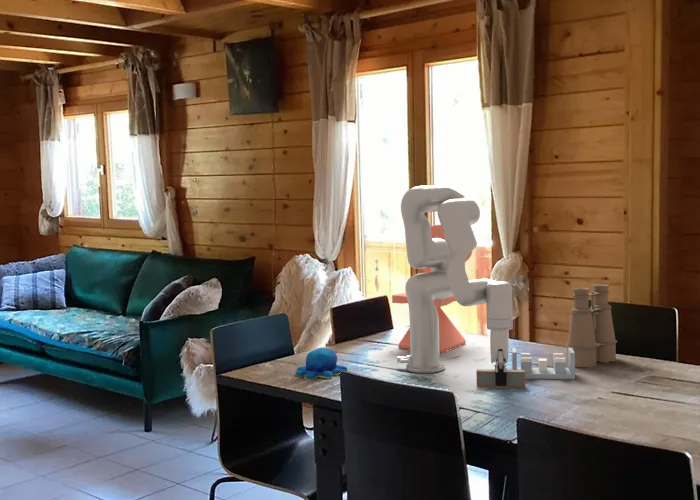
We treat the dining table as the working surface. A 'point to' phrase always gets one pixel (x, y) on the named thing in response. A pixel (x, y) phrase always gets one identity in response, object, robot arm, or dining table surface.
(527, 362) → the display cradle
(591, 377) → the dining table surface
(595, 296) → the binoculars
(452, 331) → the chair
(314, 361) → the plush toy
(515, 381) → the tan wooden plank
